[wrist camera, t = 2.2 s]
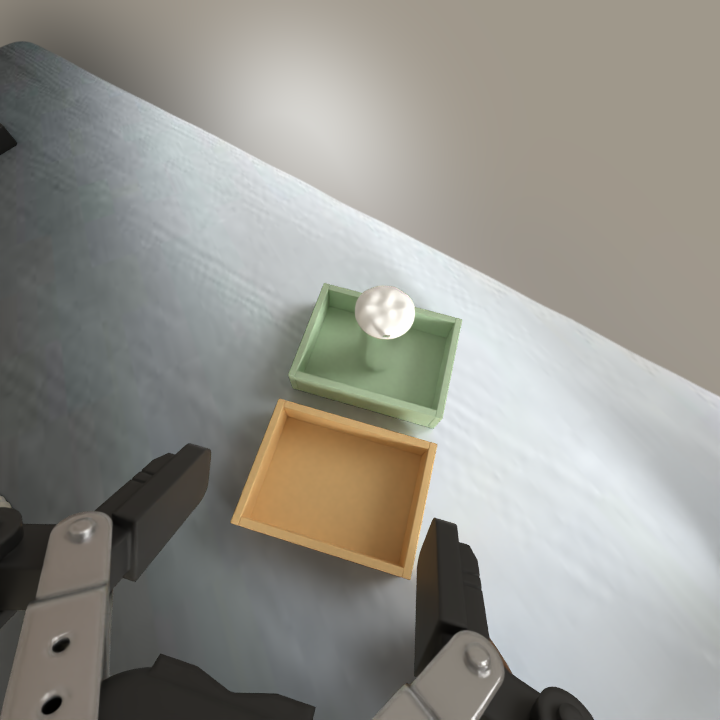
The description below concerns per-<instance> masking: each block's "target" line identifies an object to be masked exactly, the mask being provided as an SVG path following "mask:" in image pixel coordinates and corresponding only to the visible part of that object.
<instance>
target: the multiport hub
mask: <svg viewBox="0 0 720 720" xmlns="http://www.w3.org/2000/svg"><path fill="white" fill-rule="evenodd" d="M16 145H17V142H16V141H15V139H14V138H13V137H12V136H11V135H10V134H9V132H8V131H7V130H6V129H5V128H4V126H3V125H2V124H1V123H0V155H1V154H2V153H4V152H6V151H7V150H9V149H11V148H12V147H14V146H16Z"/></svg>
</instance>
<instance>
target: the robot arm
mask: <svg viewBox="0 0 720 720" xmlns="http://www.w3.org/2000/svg"><path fill="white" fill-rule="evenodd" d="M210 460H211V450H210V449H208V448H204V447H201V446H198V445H194V444H191V443H188V444H187V445H185V446H184V447H183V448H182V449H181V450H180V451H179V452H178V453H177V454H176V455H174V454H171V453H167V454H165V455H163V456H161V457H158V458H156V459H154V460H153V461H151V462H150V463H149V464H148V465H147V466H146V467H144V468H143V469H142V471H141V472H139V473H138V474H136V475H135V476H134V477H133V479H132V480H129V481H128V482H127V483H126V484H125V485H124V486H123V487H121V488H120V489H119V490H118V491H117V492H116V493H114V494H113V495H112V496H111V497H110V498H109V499H108V500H106V501H105V502H104V503H103V504H102V505H101V506H99V507H98V508H97V509H96V510H95V511H86V512H80V513H77V514H74V515H71V516H69V517H67V518H65V519H64V520H62V521H61V522H59V523H58V524H23V523H22V516H21V514H20V513H19V511H17V510H15V509H13V508H8V507H0V628H1V627H2V626H3V625H4V624H5V623H6V622H7V621H8V620H9V619H10V618H11V617H12V616H13V615H14V614H15V613H16V612H17V611H18V610H26V613H25V617H24V621H23V625H22V629H21V634H20V638H19V642H18V646H17V650H16V654H15V658H14V662H13V667H12V671H11V675H10V679H9V683H8V687H7V691H6V695H5V700H4V704H3V708H2V712H1V716H0V720H313V716H314V712H315V707H314V706H311V705H308V704H305V703H302V702H299V701H296V700H294V699H291V698H288V697H285V696H282V695H279V694H269V693H234V692H230V691H229V690H227V689H226V688H225V687H223V686H222V685H221V684H220V683H218V682H217V681H216V680H214V679H213V678H212V677H211V676H209V675H208V674H207V673H205V672H204V671H203V670H202V669H200V668H199V667H198V666H195V665H192V664H189V663H186V662H183V661H180V660H178V659H175V658H172V657H169V656H166V655H163V654H160V655H159V657H158V658H157V660H156V662H155V663H154V665H153V666H152V667H147V668H138V669H133V670H129V671H124V672H122V673H119V674H116V675H113V676H111V677H109V675H110V644H111V626H112V607H113V588H114V587H115V586H116V585H117V583H118V582H119V581H120V580H121V579H122V578H125V579H128V580H131V581H134V582H136V580H137V579H138V578H139V577H140V576H141V574H142V573H143V572H144V571H145V569H146V568H147V567H148V566H149V564H150V563H151V562H152V561H153V560H154V558H155V557H156V556H157V555H158V553H159V552H160V551H161V550H162V548H163V547H164V546H165V545H166V543H167V542H168V541H169V540H170V539H171V537H172V536H173V535H174V534H175V532H176V531H177V530H178V529H179V527H180V526H181V525H182V524H183V522H184V521H185V520H186V519H187V518H188V516H189V515H190V514H191V513H192V511H193V510H194V509H195V508H196V506H197V505H198V504H199V503H200V501H201V500H202V498H203V497H204V495H205V492H206V490H207V486H208V479H209V470H210ZM479 576H480V574H479V567H478V561H477V558H476V557H475V555H474V553H473V551H472V549H471V548H470V546H469V545H467V544H464V543H460V542H459V540H458V531H457V525H456V524H454V523H451V522H447V521H444V520H441V519H437V518H433V520H432V522H431V525H430V527H429V530H428V533H427V535H426V538H425V540H424V543H423V546H422V548H421V551H420V554H419V559H418V564H417V585H416V624H415V663H414V676H415V677H417V678H416V679H415V680H414V681H413V682H412V683H411V684H410V685H409V684H408V683H406V684H404V685H403V686H402V687H401V688H400V689H399V690H398V691H397V692H396V693H395V694H394V695H393V696H392V698H391V699H390V700H389V701H388V702H387V703H386V704H385V705H384V706H383V707H382V709H381V710H380V711H379V712H378V713H377V714H376V715H375V716H374V717H373V718H372V720H594V719H593V717H592V716H591V714H590V713H589V711H588V710H587V709H586V708H585V706H584V705H583V704H582V703H581V702H580V701H579V700H578V699H577V698H575V697H574V696H573V695H572V694H570V693H569V692H567V691H565V690H563V689H560V688H557V687H548V688H546V689H544V690H543V691H542V692H541V693H539V692H537V691H536V690H534V689H533V688H532V687H530V686H529V685H527V684H526V683H524V682H523V681H521V680H520V679H518V678H517V677H515V676H514V675H513V674H512V673H510V672H509V671H508V670H507V669H506V668H505V667H504V665H503V662H502V659H501V657H500V655H499V653H498V651H497V650H496V648H495V647H494V646H493V645H492V644H491V642H490V639H489V633H488V626H487V620H486V613H485V607H484V600H483V593H482V591H481V588H482V587H481V580H480V578H479Z"/></svg>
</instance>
